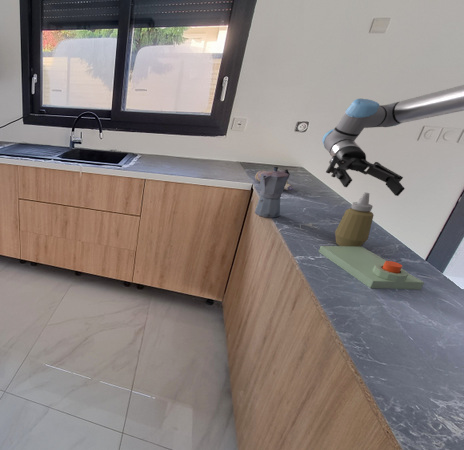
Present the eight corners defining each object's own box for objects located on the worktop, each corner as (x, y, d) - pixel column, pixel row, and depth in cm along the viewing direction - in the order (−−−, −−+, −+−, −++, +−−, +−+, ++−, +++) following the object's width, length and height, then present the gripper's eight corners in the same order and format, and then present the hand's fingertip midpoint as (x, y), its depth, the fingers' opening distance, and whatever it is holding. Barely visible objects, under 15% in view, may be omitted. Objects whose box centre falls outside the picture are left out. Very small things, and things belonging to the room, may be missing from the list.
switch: (391, 267, 82) (394, 261, 81) (402, 274, 79) (406, 267, 78) (378, 267, 82) (381, 260, 82) (389, 273, 79) (392, 266, 79)
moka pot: (244, 213, 130) (254, 166, 122) (266, 207, 136) (277, 162, 129) (266, 221, 122) (279, 171, 114) (289, 214, 129) (302, 166, 121)
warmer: (359, 252, 97) (363, 241, 96) (421, 289, 79) (428, 276, 77) (318, 252, 98) (322, 240, 97) (370, 288, 80) (376, 275, 78)
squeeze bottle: (361, 253, 97) (383, 198, 90) (329, 245, 102) (347, 193, 95) (365, 245, 102) (386, 192, 95) (334, 238, 107) (351, 187, 100)
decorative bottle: (252, 181, 175) (255, 170, 173) (266, 181, 175) (269, 169, 172) (282, 195, 151) (286, 182, 149) (298, 195, 151) (301, 181, 149)
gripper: (381, 170, 109) (412, 205, 94) (302, 158, 114) (320, 190, 99) (397, 151, 104) (432, 185, 89) (314, 139, 109) (334, 169, 94)
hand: (373, 187), depth 94 cm, fingers open, 13 cm apart
